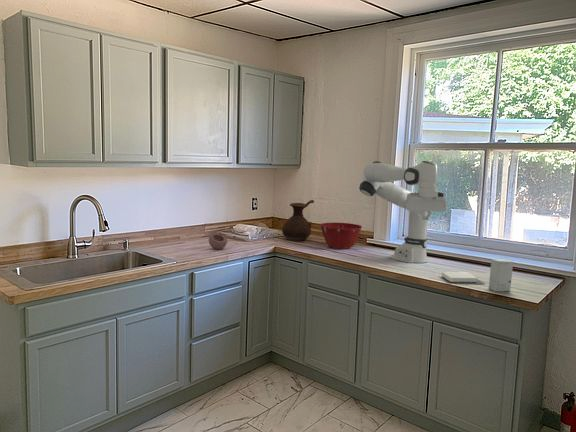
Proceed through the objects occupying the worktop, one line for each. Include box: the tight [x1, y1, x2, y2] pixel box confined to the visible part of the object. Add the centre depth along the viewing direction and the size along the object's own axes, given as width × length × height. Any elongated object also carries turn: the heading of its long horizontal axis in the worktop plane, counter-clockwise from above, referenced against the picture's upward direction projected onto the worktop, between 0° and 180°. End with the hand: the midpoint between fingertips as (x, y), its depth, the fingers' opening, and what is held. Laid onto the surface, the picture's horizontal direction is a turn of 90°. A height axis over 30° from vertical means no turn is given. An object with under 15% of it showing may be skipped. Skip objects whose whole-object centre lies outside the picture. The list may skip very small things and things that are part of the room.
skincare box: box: [488, 258, 514, 292], centre depth 224 cm, size 8×6×15 cm
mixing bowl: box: [319, 222, 363, 250], centre depth 317 cm, size 28×28×15 cm
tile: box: [440, 271, 478, 283], centre depth 241 cm, size 2×12×14 cm
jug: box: [281, 199, 315, 242], centre depth 340 cm, size 22×22×30 cm
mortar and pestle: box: [208, 231, 228, 250], centre depth 299 cm, size 12×12×11 cm
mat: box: [453, 278, 486, 285], centre depth 241 cm, size 15×16×1 cm
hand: (425, 219), depth 237 cm, fingers closed
